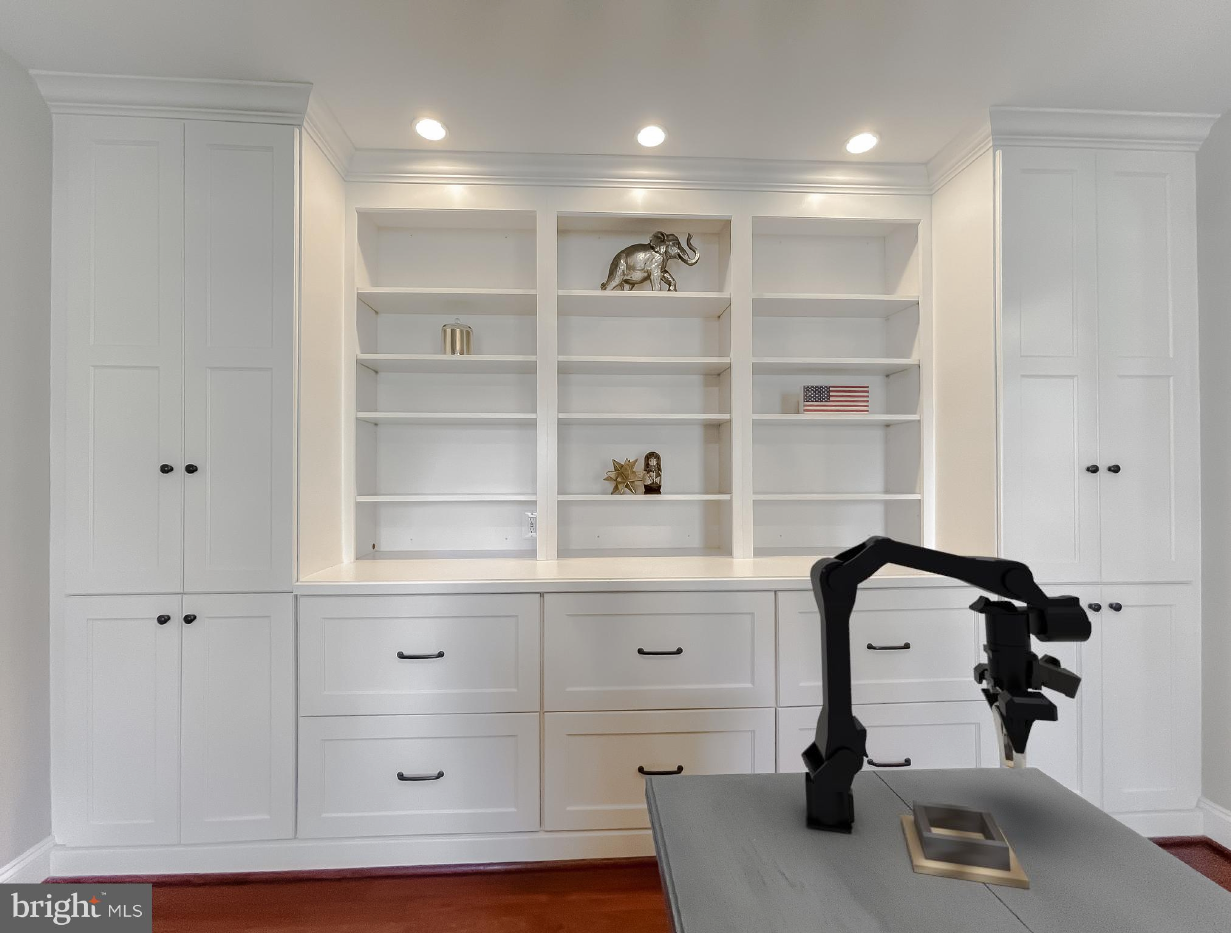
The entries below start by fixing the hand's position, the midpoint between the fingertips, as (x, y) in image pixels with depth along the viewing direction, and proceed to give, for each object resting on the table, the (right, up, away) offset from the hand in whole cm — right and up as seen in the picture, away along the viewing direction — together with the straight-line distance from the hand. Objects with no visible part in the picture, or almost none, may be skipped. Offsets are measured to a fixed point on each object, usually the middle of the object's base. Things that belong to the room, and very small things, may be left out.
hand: (1015, 747), depth 91 cm
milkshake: (0, -3, 0) cm, 3 cm away
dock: (-12, -11, -7) cm, 18 cm away
